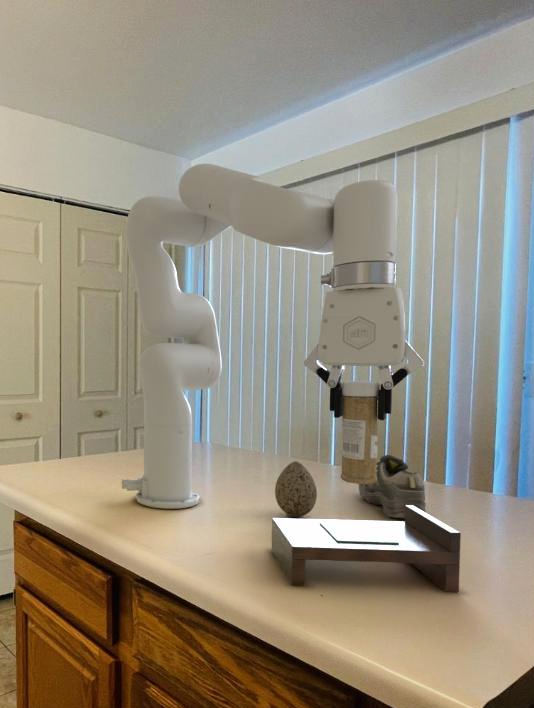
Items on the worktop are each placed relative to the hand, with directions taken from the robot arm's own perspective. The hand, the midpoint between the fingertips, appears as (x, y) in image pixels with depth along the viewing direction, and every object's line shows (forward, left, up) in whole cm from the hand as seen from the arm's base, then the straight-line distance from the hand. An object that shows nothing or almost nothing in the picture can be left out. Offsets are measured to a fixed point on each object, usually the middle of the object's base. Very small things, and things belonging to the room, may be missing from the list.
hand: (359, 416), depth 70 cm
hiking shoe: (+18, +32, -21) cm, 42 cm away
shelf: (0, 0, -21) cm, 21 cm away
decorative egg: (-2, +24, -21) cm, 32 cm away
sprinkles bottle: (0, 0, -9) cm, 9 cm away
